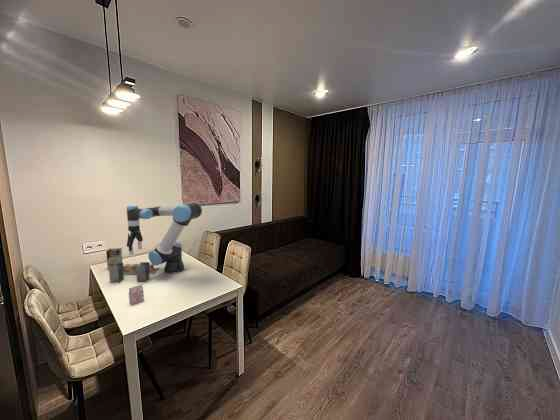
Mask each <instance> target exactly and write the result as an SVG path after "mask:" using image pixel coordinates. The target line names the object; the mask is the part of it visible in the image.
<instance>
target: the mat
mask: <svg viewBox="0 0 560 420" xmlns="http://www.w3.org/2000/svg"><path fill="white" fill-rule="evenodd" d="M159 269H160V267H154V270H153V271H152V272H149V273H150V275H154V274H156V273H157V271H159ZM123 275H124V276H127V275H129V276H130V275H137V272H123Z"/></svg>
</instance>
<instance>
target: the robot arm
mask: <svg viewBox="0 0 560 420" xmlns="http://www.w3.org/2000/svg"><path fill="white" fill-rule="evenodd" d="M202 213H203V208H202V206H201V205H200V204H199V203H196V202H191V203H182V204H179V205H171V206H170V205H167V206H162V205H161V206H159V205H158V206H154V207H147V208H146V207H145V208H139V206H138V205H135V204H134V205H128V206H126V216H127V217H126V218H127V219H126V220H127V226H128V227H127V230H128V232H130V233H127V241H126V242H127V243H126V247H127V248H128V254H129V255H131V256H134V254H135V253H134V246H133V244H134V243H135V242H134V241H135V239H136V240H137V242H136V243H137V250H143V245H142V242H143V240H144V238H143V236H142V233H141V230H140V229H141V228H140V227H141V226H140V220H141V219H142V220H143V219H144V220H149V219H151V218H155V217H168V216H169V217H170V216H171V217H172V220H173V221H172V223H171V224H170V226H169V227H168V229H167V231H166V233H165V234H164V237H163V238H162V240H161V242H160V243H158V244H157V245H156V246H155V248H154V249H153V250H151V251H149V252H148V255H147V256H148V260H149V263H152V264H153V265H154V266H159V265H162V264H164V263H165V264H164V266H163V267H164V269H163V270H164V271H163V272H164V273H165V274H177V273H180V272H183V271H184V270H185V264H184V262H183V251H182V250H183V249H182V243H181V242H178V241H177V240H178V239H179V237H180V236H181V234H182V232H183V230H184V229H185V227H187V226H189V225H190V223H191V221H192V220H194V219H198V218H199V217H201V216H202Z"/></svg>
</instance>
